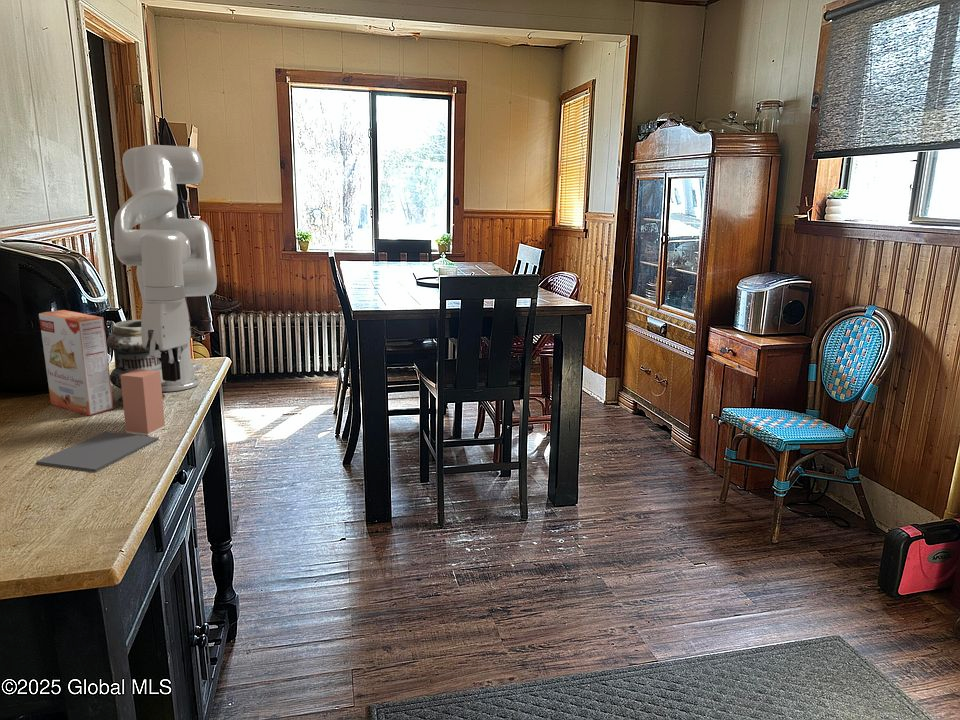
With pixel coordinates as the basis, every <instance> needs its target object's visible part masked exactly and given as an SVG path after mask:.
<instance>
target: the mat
mask: <svg viewBox="0 0 960 720" xmlns="http://www.w3.org/2000/svg"><path fill="white" fill-rule="evenodd" d="M157 440H158V441H159V437H156V436H150V435H149V436H146V435H138V434H130V433H124V432H122V433H121V432H113V431H107V430H105V431H102V432H100V433H98V434H95V435H94V436H91V437H88V438H86V439H83V440H82V441H80V442H77V443H76V444H73V445H70V446H69V447H66V448H64V449H62V450H59V451H57V452H54V453H52V454H50V455H48V456H45V457H43V458H41V459H39V460H36V465H41V466H50V467H55V468H61V469H62V468H64V469H71V470H78V471H83V472H84V471H85V472H93V473H96V472H99V471H101V470H103V469H105V468H106V467H109V466H110V465H112V464H115V463H117V462H118V461H121V460H123V459H124V458H126V457H128V456H130V455H132V454H134V453H136V452H138V451H140V450H142V449H144V448H146V447H148V446H150V445H152V444H154V443H156V442H158V441H157ZM153 442H154V443H153ZM151 443H152V444H151ZM149 444H150V445H149ZM147 445H148V446H147ZM145 446H146V447H145ZM143 447H144V448H143ZM141 448H142V449H141ZM139 449H140V450H139ZM137 450H138V451H137Z"/></svg>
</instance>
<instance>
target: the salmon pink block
mask: <svg viewBox="0 0 960 720" xmlns="http://www.w3.org/2000/svg"><path fill="white" fill-rule="evenodd" d="M120 377H121V386H122V389H121V396H123V404H122V406H123V414H124V425H125V432H126V433H125V434H130V433H131V434H132V435H138V434H141V435H140V436H146V435H149V436H150V435H153V434H155V433H157V432H159V431H161V430H162V429H163V430H164V429H165V428H166V425H165V413H164V402H163V401H164V400H163V399H162V393H163V392H162V387H161V375H160V371H154V370H144V369H137V370H134V371H131V372H128V373H125V374H122V375H120Z"/></svg>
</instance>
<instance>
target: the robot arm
mask: <svg viewBox="0 0 960 720" xmlns="http://www.w3.org/2000/svg"><path fill="white" fill-rule="evenodd" d="M122 155H123V156H122V167H123V168H122V169H123V173H124V177H125V180H126V183H127V186H128V188H129V190H130V192H131V195H132V196H131V197H130V198H128V199H127V200H126V201H125V202H124V203H123V204H122V205H121V207H120V208H119V209H118V211H117V213H116V215H115V217H114V218H115V219H114V226H113V230H114V231H113V234H114V235H113V237H114V250H115V254H116V257H117V259H118V260H119V262H121V263H122V264H123V265H125V266H130V267H132V266H133V267H136V271H135V272H136V279H137V283H138V284H137V285H138V288H139V292H140V296H141V301H142V306H141V307H142V308H141V316H140V317H141V318H140V320H141V335H142V346H143V348H144V349H146V350H150V354H149V356H150V357H154V358H158V360H159V362H160V363H161V367H162V379H163V380H164V381H165V382H164V383H163V384H161V387H162V393H164V392H165V393H166V392H168V393H169V392H178V391H184V390H188V389H191V388H194V387H196V386H198V385H199V384H200V378H199V377H198V376H196V375H195V374H194V373H195V371H199V370H201V369H202V367H203V364H202V363H201V362H199V361H197V362H193V363H192V354H191V342H190V341H191V337H192V335H191V322H190V315H189V310H188V305H187V301H186V297H205V296H211V295H213V294H214V293H215V292H216V290H217V286H218V277H217V276H218V275H217V268H216V267H217V266H216V259H215V252H214V243H213V235H212V231H211V229H210V227H209V225H208V223H206V222H205V221H204V220H201V219H197V218H196V219H195V218H178V213H177V205H178V203H179V195H178V186H177V185H199V184H200V183H201V182H202V180H203V177H204V164H203V159H202V157H201V154H200V153H199V151H198V150H197V149H196V148H194V147H191V146H180V145H167V144H165V145H163V144H162V145H161V144H147V145H143V146H140V147H139V146H138V147H132V148H129V149H128V150H126V151H125V152H124V153H123V154H122ZM137 225H139V229H133V228H134V227H136V226H137Z"/></svg>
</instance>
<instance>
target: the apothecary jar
mask: <svg viewBox="0 0 960 720" xmlns="http://www.w3.org/2000/svg"><path fill="white" fill-rule="evenodd" d="M106 345H107V347H108V348H109V349H111V350H112V351H113V356H114V369H112V370H111V371H110V382H111V385H113V386H115V387H116V388H118V389H120V390H122V386H121V377H120V375H122V374H125V373H128V372H131V371H134V370H137V369H144V370H154V371H160V375H161V384H163V383H164V382H165V381H164V380H163V379H162V367H161V363H160V362H159V360H158V358H154V357H150V356H149V354H150V350H146V349H144V348H143V346H142V335H141V319H129V320H121V321H119V322H116V323H115V324H113V331H112V333H111V334H109V335H108V337H107V338H106ZM165 398H166V395H165V394H164V392H162V399H163V401H164V400H165ZM116 402H117V403H118V404H120V405H123V396H122V395H121V396H119V397H118V398H117V401H116Z"/></svg>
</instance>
